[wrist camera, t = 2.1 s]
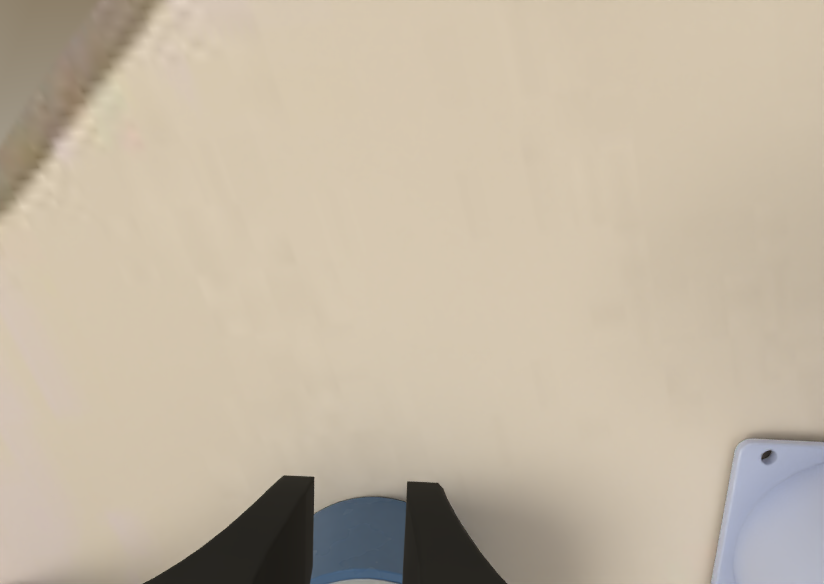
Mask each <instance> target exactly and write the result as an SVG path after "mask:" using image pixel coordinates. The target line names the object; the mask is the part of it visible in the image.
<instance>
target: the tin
mask: <svg viewBox="0 0 824 584" xmlns="http://www.w3.org/2000/svg"><path fill="white" fill-rule="evenodd" d="M405 519H406V502H404V501H400V500H396V499H391V498H383V497H362V498H354V499H349V500H345V501H341V502H338V503H336V504H333V505H330V506H328V507H326V508H324V509H322V510H321V511H319V512H317V513H315V514H314V528H313V569H312V575H311V581H310V584H402V579H403V558H404V538H405Z"/></svg>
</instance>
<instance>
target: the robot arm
mask: <svg viewBox="0 0 824 584" xmlns="http://www.w3.org/2000/svg"><path fill="white" fill-rule="evenodd" d="M769 450H771V454H770V456H769V457H767V458H766V459H761V457H762V455H763V453H764V452H766V451H769ZM313 528H314V477H305V476H283V477H282V478H280V479H279V480H278V481H277V482H276V483H275V484H274V485H273V486H272V487H271V488H269V489H268V490H267V491H266V492H265V493H264V494H263V495H262V496H261V497H260V498H259V499H258V500H257V501H256V502H255V503H254V504H253V505H252V506H250V507H249V508H248V509H247V510H246V511H245V512H244V513H243V514H242V515H240V516H239V517H238V518H237V519H236V520H235V521H234V522H232V523H231V524H230V525H229V526H228V527H227V528H226V529H224V530H223V531H222V532H220V533H219V534H218V535H217V536H215V537H214V538H213V539H212V540H210V541H209V542H208V543H206V544H205V545H204V546H203V547H201V548H200V549H199V550H197V551H196V552H194V553H193V554H191V555H190V556H188V557H187V558H186V559H184V560H183V561H181V562H179V563H178V564H176V565H175V566H173V567H171V568H170V569H168V570H167V571H165V572H163V573H162V574H160V575H158V576H156V577H155V578H153V579H151V580H149V581H147V582H145V583H143V584H310V581H311V575H312V569H313ZM402 584H507V583H506V582H505V581H504V580H503V579H502V578H501V577H500V575H499V574H498V573H497V572H496V571H495V570H494V568H493V567H492V566H491V565H490V563H489V562H488V561H487V560H486V558H485V557H484V556H483V555H482V553H481V552H480V551H479V549H478V548H477V546H476V545H475V544H474V542H473V541H472V539H471V538H470V536H469V535H468V533H467V532H466V530H465V529H464V527H463V526H462V524H461V522H460V521H459V519H458V517H457V516H456V514H455V512H454V510H453V509H452V507H451V505H450V503H449V501H448V499H447V497H446V495H445V492H444V490H443V488H442V487H441V486H440V485H439V483H429V482H408V481H407V500H406V519H405V538H404V558H403V579H402ZM711 584H824V442H816V441H796V440H775V439H755V438H751V439H745V440H743V441H741V442H740V443H739V444H738V445H737V446H736V449H735V452H734V457H733V463H732V468H731V474H730V479H729V485H728V491H727V496H726V502H725V507H724V513H723V518H722V524H721V529H720V535H719V541H718V546H717V552H716V557H715V563H714V568H713V574H712V579H711Z"/></svg>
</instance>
